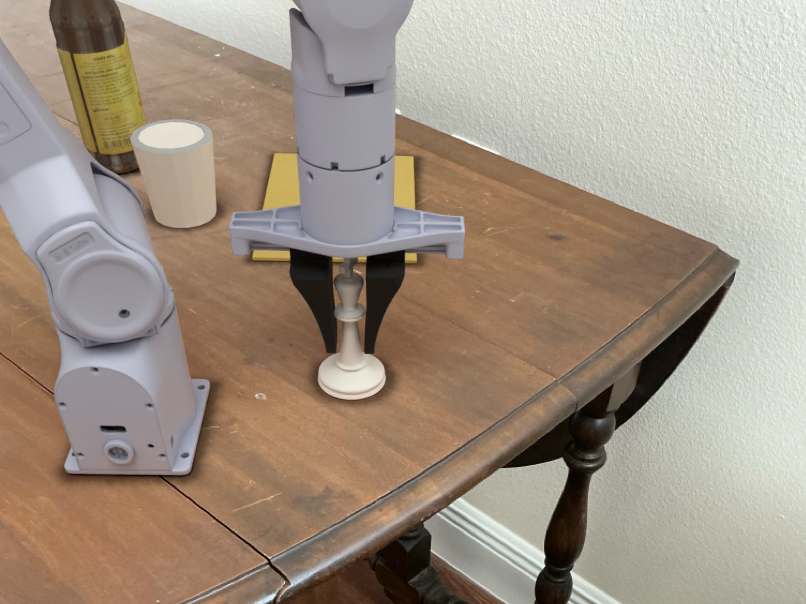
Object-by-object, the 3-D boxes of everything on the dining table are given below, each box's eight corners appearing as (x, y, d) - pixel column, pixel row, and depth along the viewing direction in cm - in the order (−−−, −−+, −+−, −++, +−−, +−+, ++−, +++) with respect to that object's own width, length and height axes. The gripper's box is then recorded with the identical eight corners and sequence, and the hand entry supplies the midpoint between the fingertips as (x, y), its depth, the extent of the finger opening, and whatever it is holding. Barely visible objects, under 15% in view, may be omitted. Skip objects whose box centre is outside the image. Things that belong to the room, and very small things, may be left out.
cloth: (416, 263, 72) (416, 260, 72) (252, 260, 72) (252, 257, 71) (413, 158, 85) (413, 155, 85) (274, 155, 85) (274, 152, 85)
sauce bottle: (166, 155, 84) (120, -87, 69) (128, 181, 80) (72, -70, 66) (112, 142, 86) (57, -97, 71) (73, 168, 82) (6, -80, 67)
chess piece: (304, 386, 60) (294, 259, 53) (339, 350, 63) (334, 225, 56) (364, 408, 59) (362, 281, 52) (397, 370, 62) (400, 245, 54)
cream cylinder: (207, 235, 74) (195, 156, 69) (134, 226, 75) (116, 146, 70) (233, 199, 79) (223, 122, 73) (164, 191, 79) (149, 113, 74)
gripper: (466, 123, 52) (451, 314, 62) (229, 118, 51) (253, 311, 62) (473, 176, 47) (456, 373, 57) (212, 171, 47) (242, 370, 57)
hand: (351, 345), depth 59 cm, fingers closed on chess piece
